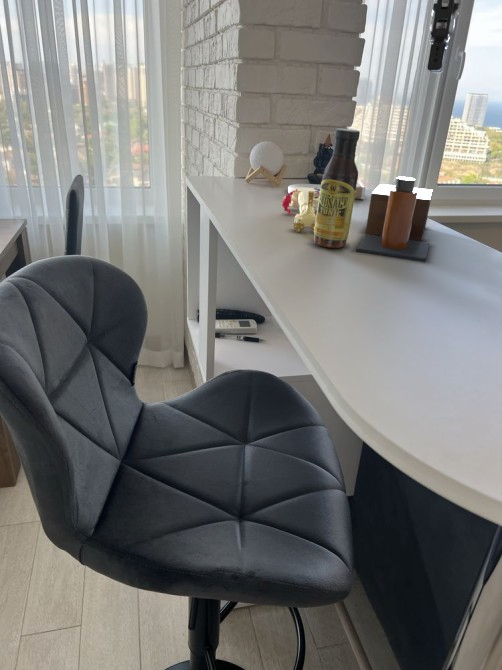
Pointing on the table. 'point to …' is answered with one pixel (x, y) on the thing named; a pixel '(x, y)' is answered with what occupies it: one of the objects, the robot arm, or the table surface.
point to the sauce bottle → (337, 192)
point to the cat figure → (302, 206)
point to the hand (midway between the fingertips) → (434, 71)
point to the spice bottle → (399, 214)
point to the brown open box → (380, 205)
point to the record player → (359, 188)
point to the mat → (412, 251)
